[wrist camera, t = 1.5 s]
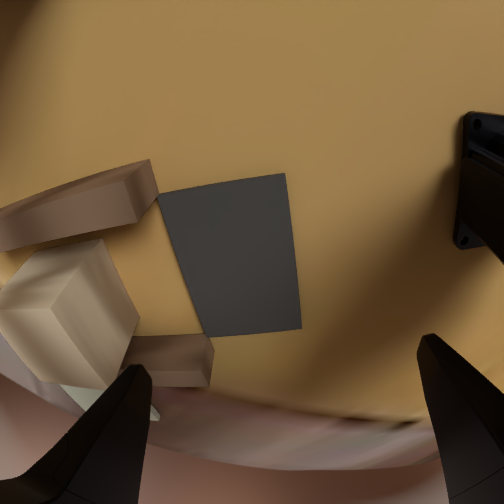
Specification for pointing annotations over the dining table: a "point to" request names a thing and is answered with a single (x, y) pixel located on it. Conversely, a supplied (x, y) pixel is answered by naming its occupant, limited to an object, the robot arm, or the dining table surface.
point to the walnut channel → (101, 217)
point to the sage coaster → (95, 398)
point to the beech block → (69, 315)
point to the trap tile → (236, 254)
